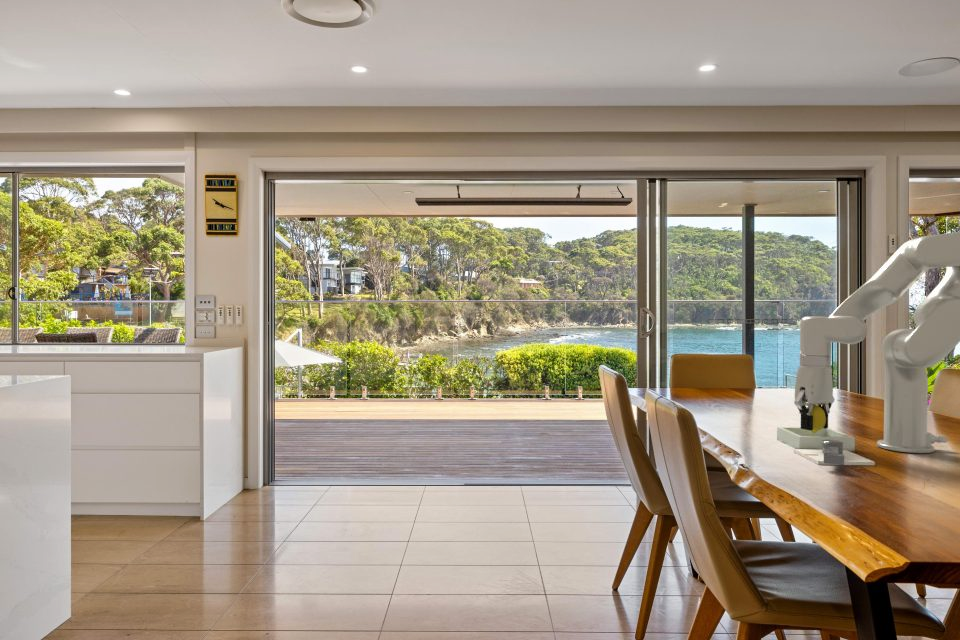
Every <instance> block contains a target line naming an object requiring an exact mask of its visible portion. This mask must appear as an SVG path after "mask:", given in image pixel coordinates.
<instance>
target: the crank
mask: <svg viewBox="0 0 960 640" xmlns="http://www.w3.org/2000/svg"><path fill="white" fill-rule="evenodd" d="M822 453H823V454H824V463H828V464H838V466H845V465H844V454H843V442H841V441H837V440H822Z"/></svg>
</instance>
